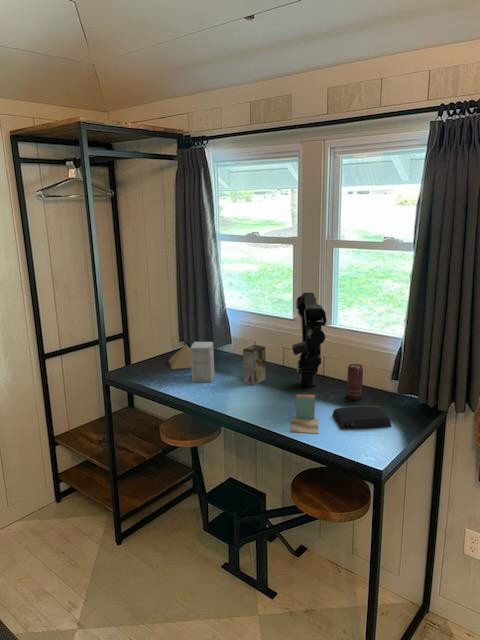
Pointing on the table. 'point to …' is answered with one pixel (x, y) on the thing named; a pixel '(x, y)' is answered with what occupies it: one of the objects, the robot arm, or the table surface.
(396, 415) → the table surface
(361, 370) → the can
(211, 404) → the table surface
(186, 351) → the model pyramid
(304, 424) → the brass plate
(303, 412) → the block
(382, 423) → the external hard drive
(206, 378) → the supplement box
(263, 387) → the table surface
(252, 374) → the coffee box
